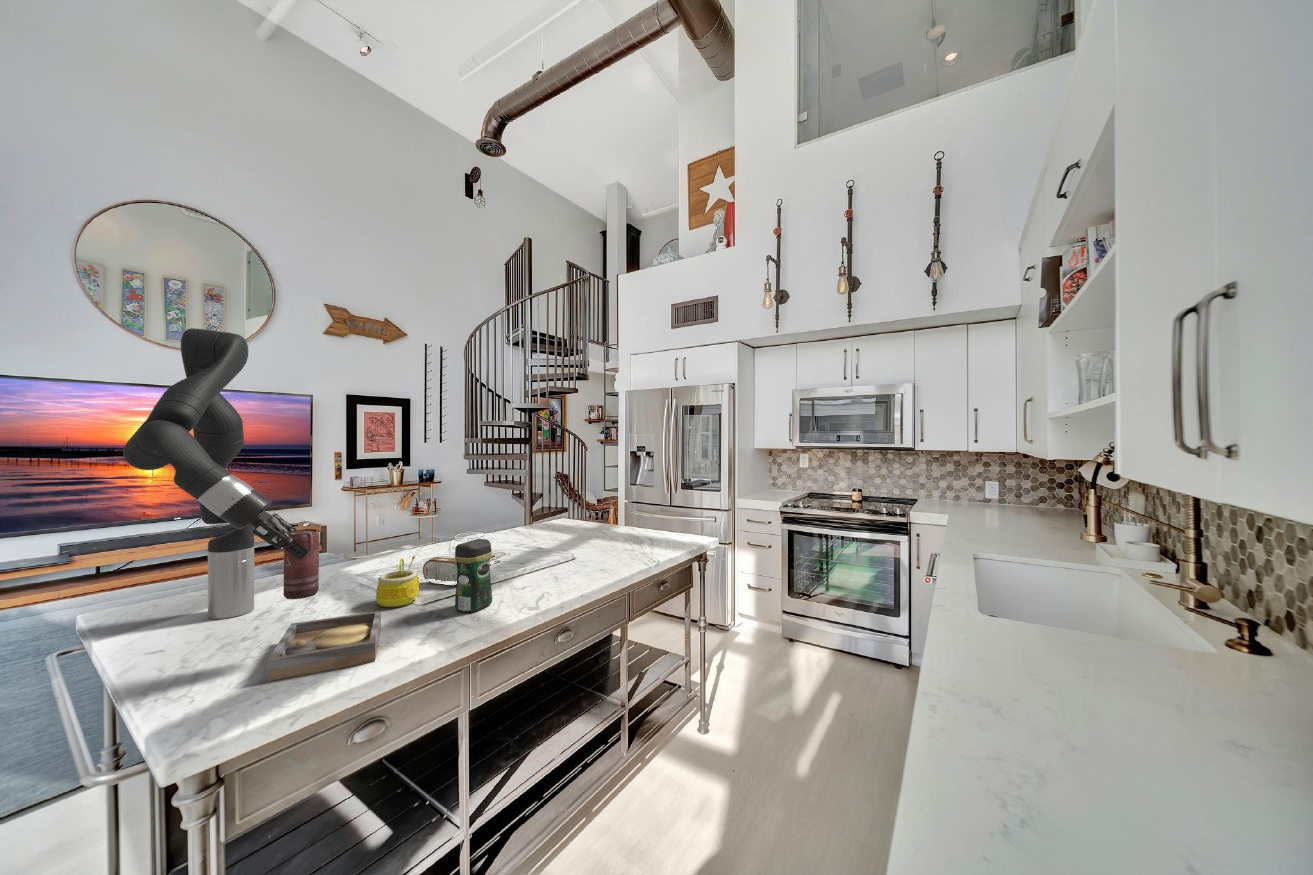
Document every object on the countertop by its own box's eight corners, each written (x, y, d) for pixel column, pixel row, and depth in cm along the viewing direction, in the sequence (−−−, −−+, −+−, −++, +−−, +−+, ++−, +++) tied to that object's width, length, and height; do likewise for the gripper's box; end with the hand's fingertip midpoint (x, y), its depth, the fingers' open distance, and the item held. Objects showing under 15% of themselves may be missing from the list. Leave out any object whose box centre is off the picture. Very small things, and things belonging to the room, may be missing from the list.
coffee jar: (474, 599, 137) (475, 535, 137) (496, 603, 134) (497, 538, 134) (448, 611, 128) (449, 542, 128) (471, 615, 125) (472, 545, 125)
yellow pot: (396, 611, 127) (396, 567, 127) (366, 606, 131) (366, 563, 131) (433, 596, 139) (433, 556, 139) (404, 592, 143) (404, 552, 143)
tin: (468, 584, 150) (468, 558, 150) (462, 588, 147) (462, 561, 147) (427, 581, 154) (427, 555, 154) (420, 584, 151) (421, 558, 150)
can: (300, 601, 99) (301, 534, 99) (276, 598, 100) (276, 532, 100) (326, 591, 105) (327, 529, 105) (303, 589, 106) (303, 527, 106)
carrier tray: (291, 640, 109) (291, 619, 109) (380, 626, 117) (381, 606, 117) (267, 681, 91) (266, 655, 91) (374, 661, 99) (375, 637, 99)
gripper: (244, 491, 92) (318, 545, 98) (259, 484, 104) (324, 532, 111) (207, 521, 89) (286, 574, 96) (227, 510, 102) (296, 558, 108)
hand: (306, 552), depth 103 cm, fingers closed on can, 6 cm apart
